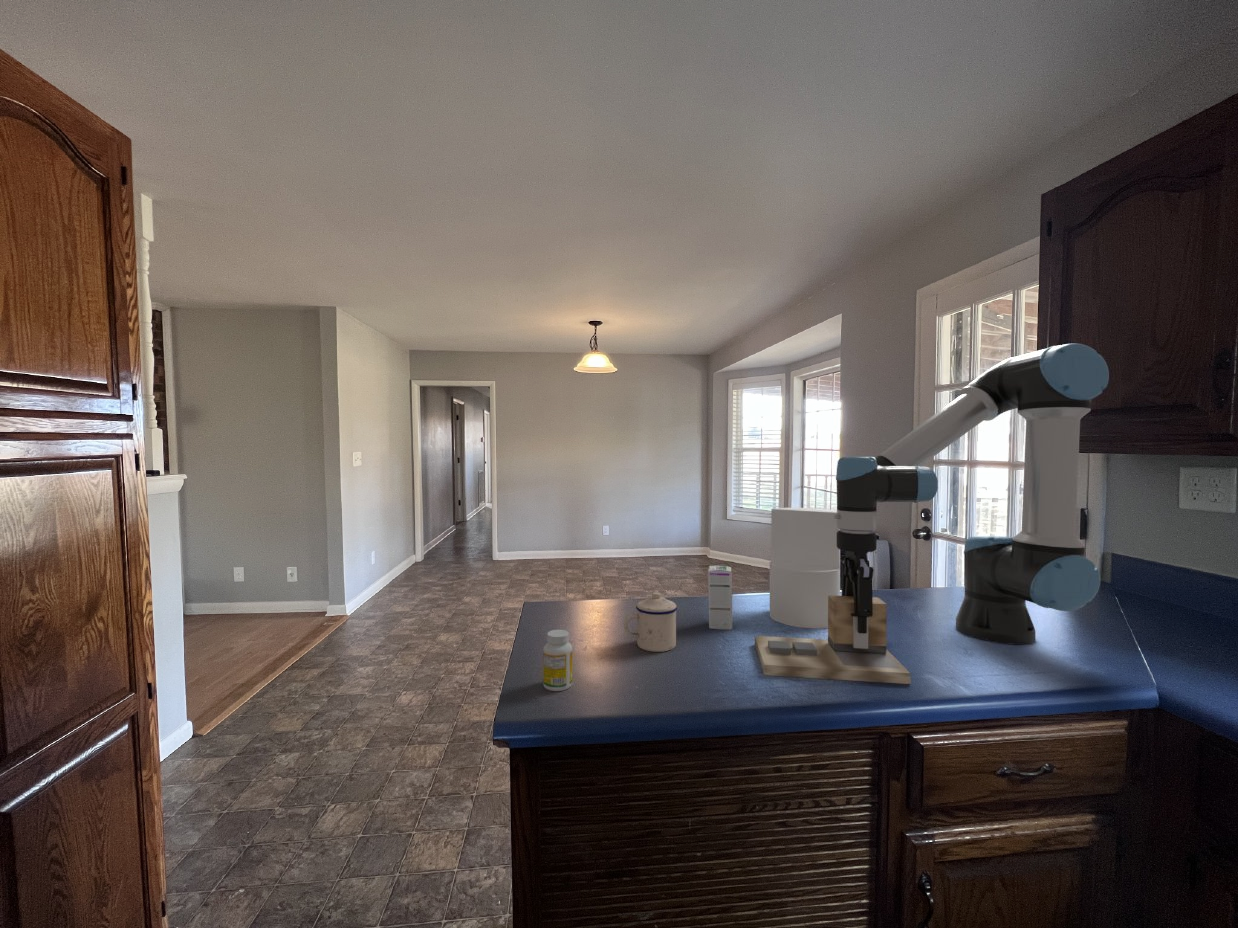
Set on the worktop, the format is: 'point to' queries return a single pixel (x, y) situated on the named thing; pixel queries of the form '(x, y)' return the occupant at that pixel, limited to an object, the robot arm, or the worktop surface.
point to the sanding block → (843, 625)
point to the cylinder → (803, 565)
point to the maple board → (830, 663)
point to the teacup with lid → (654, 624)
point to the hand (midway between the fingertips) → (856, 642)
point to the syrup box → (720, 597)
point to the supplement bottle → (557, 661)
